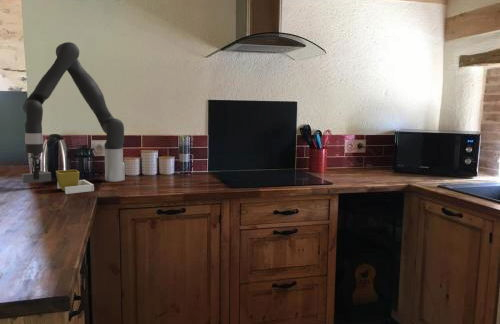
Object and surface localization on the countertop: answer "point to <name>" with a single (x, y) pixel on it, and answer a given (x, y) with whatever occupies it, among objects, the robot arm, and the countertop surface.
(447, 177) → the countertop surface
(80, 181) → the white shallow tray
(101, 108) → the robot arm
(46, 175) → the tall gray bar
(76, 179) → the flower pot
